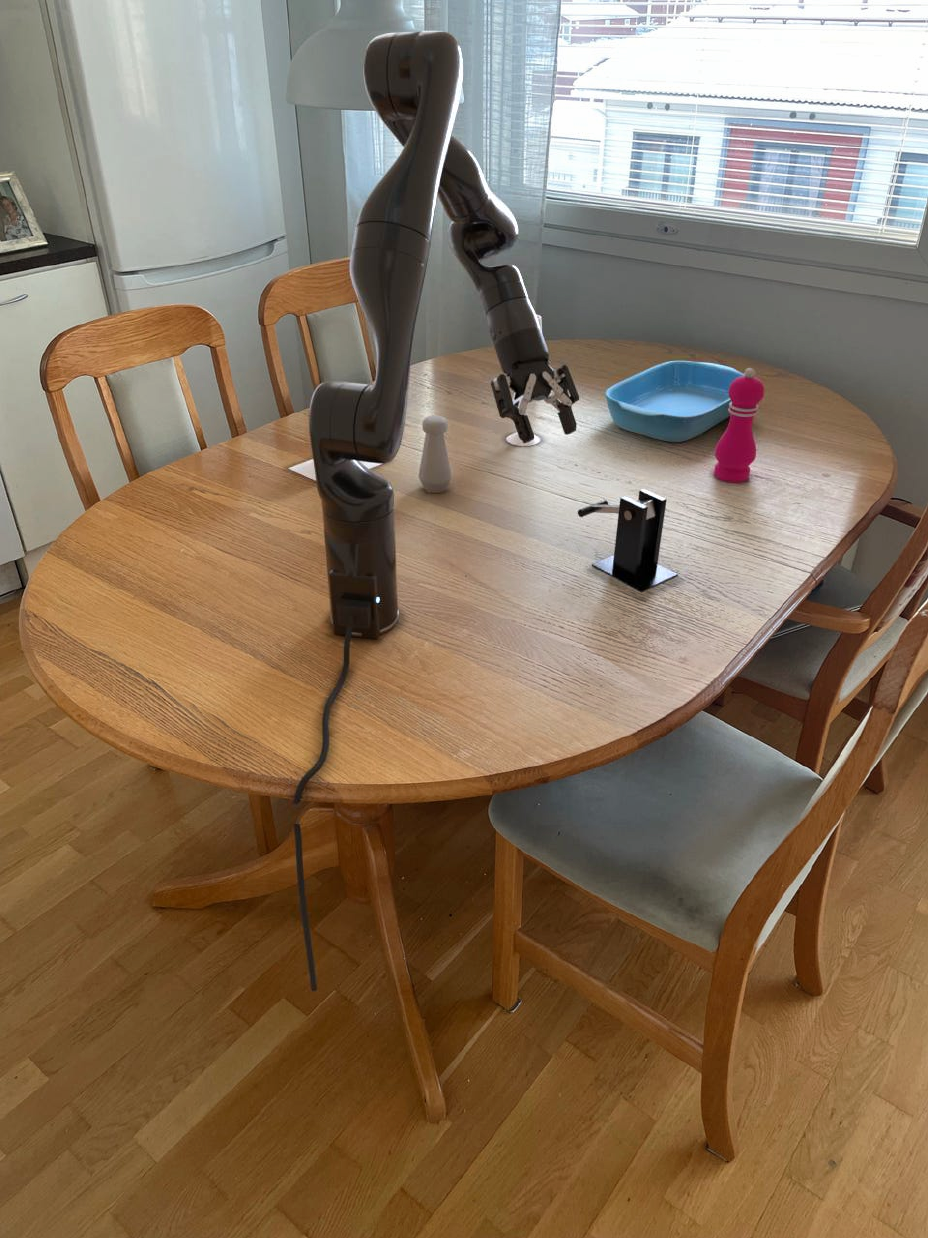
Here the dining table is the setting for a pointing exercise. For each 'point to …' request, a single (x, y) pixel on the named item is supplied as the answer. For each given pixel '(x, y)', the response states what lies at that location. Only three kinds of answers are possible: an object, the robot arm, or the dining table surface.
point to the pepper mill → (739, 429)
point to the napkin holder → (309, 470)
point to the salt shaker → (435, 456)
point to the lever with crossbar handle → (614, 508)
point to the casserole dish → (673, 400)
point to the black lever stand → (638, 544)
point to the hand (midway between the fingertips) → (550, 436)
